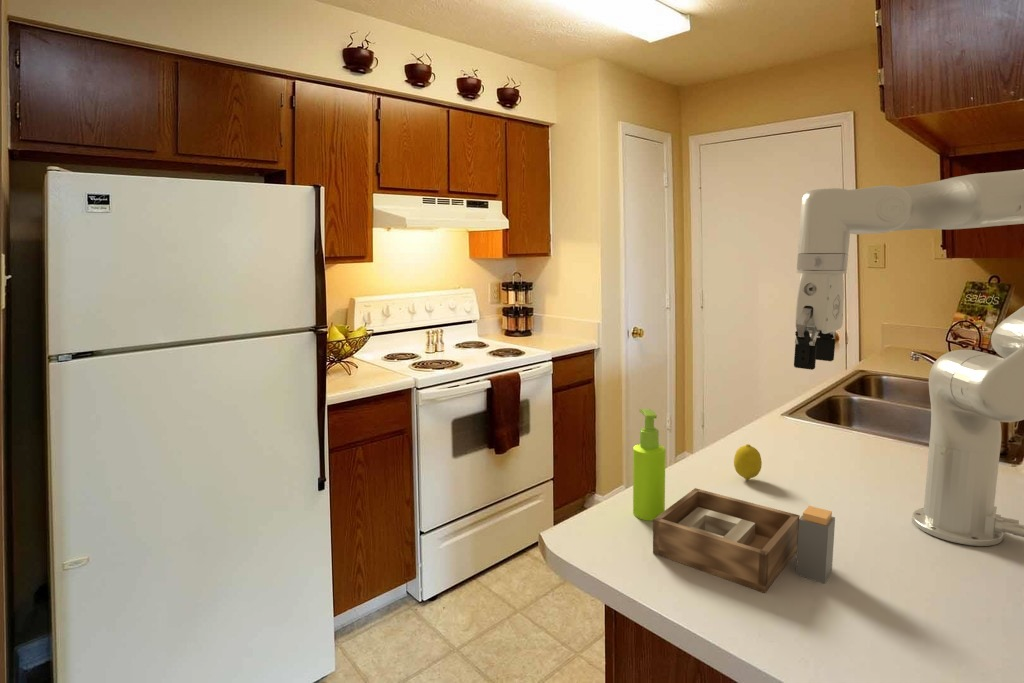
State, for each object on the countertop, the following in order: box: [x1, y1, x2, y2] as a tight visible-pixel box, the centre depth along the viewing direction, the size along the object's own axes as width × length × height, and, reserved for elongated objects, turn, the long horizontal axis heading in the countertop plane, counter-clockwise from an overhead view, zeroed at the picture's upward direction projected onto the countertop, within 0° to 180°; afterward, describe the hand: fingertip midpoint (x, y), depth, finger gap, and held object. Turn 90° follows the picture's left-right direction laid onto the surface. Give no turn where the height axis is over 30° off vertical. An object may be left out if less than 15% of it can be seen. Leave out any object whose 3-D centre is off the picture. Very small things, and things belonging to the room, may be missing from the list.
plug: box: [795, 505, 836, 584], centre depth 88 cm, size 4×4×10 cm
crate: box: [652, 487, 801, 594], centre depth 95 cm, size 18×16×6 cm
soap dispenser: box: [632, 408, 666, 522], centre depth 109 cm, size 6×7×20 cm
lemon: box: [733, 443, 763, 481], centre depth 124 cm, size 6×6×8 cm
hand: (814, 364), depth 100 cm, fingers open, 9 cm apart
